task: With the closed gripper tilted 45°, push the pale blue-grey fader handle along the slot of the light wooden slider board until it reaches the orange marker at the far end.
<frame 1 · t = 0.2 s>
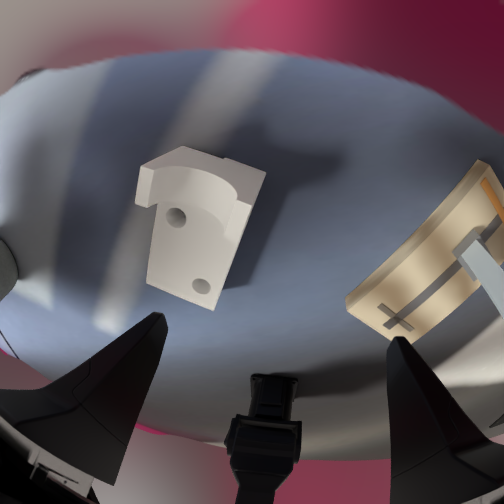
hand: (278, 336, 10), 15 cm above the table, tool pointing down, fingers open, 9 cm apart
lamp: (6, 256, 35), on the table
slider board: (441, 261, 22), on the table
bracket: (206, 222, 25), on the table
fader tab: (497, 286, 15), point 7 cm above the table, slide at 3.0 cm
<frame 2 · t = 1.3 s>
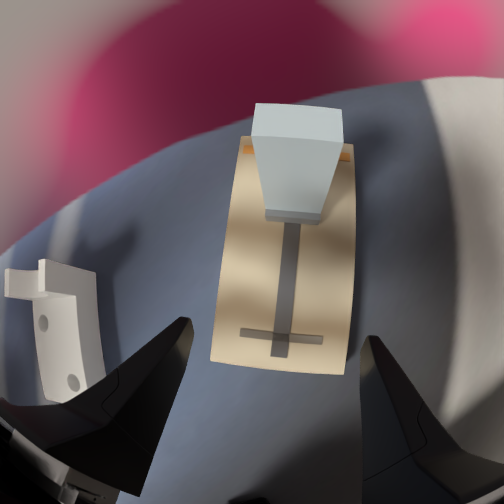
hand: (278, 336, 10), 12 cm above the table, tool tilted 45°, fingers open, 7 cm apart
slider board: (290, 249, 23), on the table
bracket: (78, 338, 24), on the table
fader tab: (295, 173, 16), point 7 cm above the table, slide at 3.0 cm
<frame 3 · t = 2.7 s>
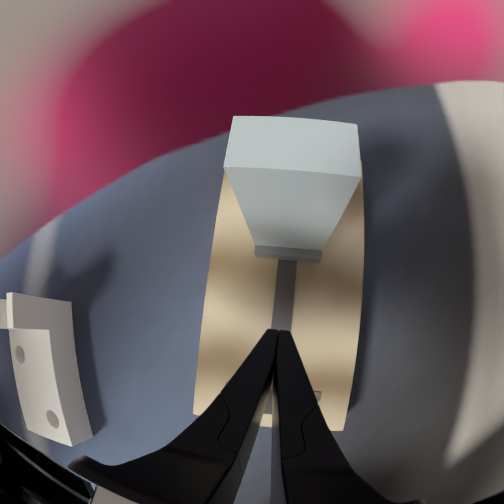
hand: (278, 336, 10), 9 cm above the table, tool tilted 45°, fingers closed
slider board: (285, 287, 19), on the table
bracket: (58, 369, 20), on the table
fader tab: (291, 206, 13), point 7 cm above the table, slide at 3.0 cm
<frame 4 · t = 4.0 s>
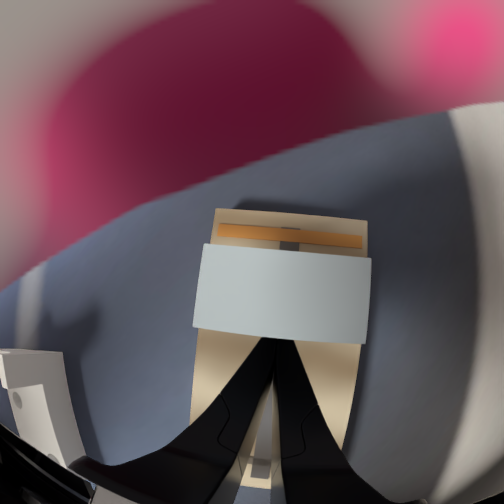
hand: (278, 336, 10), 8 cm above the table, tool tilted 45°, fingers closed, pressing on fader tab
slider board: (277, 360, 17), on the table
bracket: (55, 411, 18), on the table
fader tab: (283, 303, 11), point 7 cm above the table, slide at 3.6 cm, touching gripper
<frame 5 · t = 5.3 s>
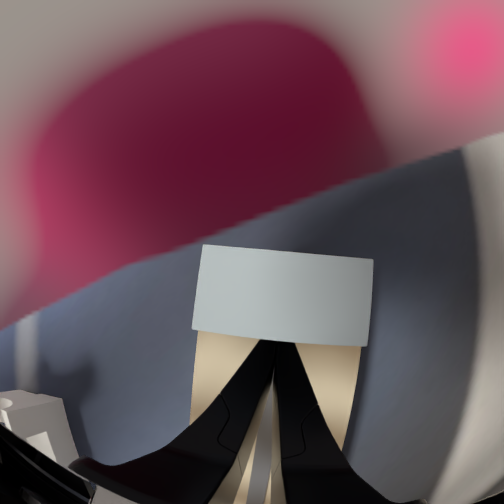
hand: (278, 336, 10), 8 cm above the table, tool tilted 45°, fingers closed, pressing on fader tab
slider board: (268, 426, 16), on the table
bracket: (59, 448, 17), on the table
fader tab: (283, 304, 11), point 7 cm above the table, slide at 8.6 cm, touching gripper
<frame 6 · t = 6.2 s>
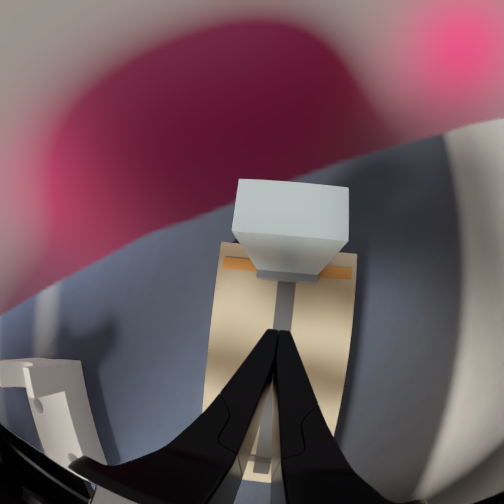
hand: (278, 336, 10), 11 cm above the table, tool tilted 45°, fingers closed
slider board: (275, 373, 20), on the table
bracket: (73, 414, 21), on the table
fader tab: (289, 243, 14), point 7 cm above the table, slide at 8.5 cm
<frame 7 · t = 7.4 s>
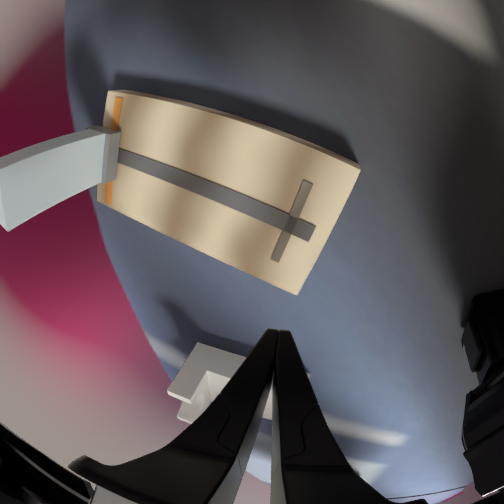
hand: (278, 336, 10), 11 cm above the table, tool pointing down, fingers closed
slider board: (207, 176, 20), on the table
bracket: (251, 373, 31), on the table
fader tab: (56, 169, 15), point 7 cm above the table, slide at 8.5 cm
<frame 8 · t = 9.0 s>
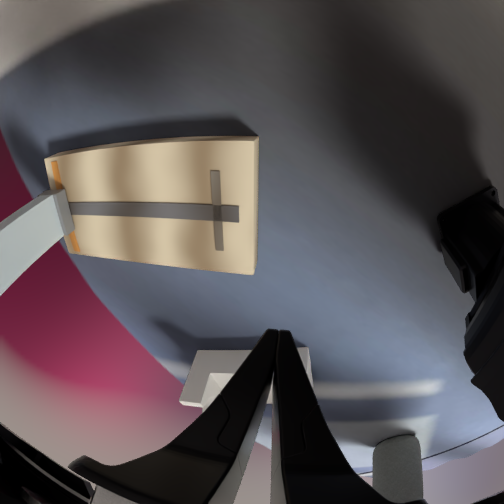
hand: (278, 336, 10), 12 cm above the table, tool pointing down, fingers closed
lamp: (395, 440, 43), on the table
slider board: (143, 199, 21), on the table
bracket: (257, 364, 32), on the table
fader tab: (23, 237, 16), point 7 cm above the table, slide at 8.5 cm
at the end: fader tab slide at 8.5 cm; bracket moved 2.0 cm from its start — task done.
